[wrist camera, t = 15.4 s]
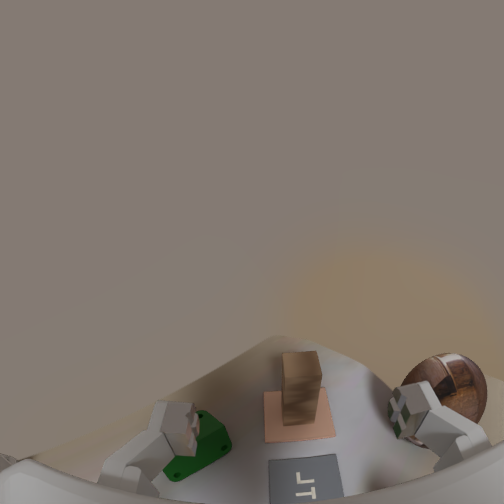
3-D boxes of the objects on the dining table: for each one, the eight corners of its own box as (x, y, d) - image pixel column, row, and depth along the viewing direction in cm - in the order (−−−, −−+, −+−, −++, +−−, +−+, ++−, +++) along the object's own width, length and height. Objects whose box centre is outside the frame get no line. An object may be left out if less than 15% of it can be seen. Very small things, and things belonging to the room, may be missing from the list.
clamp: (209, 449, 42) (212, 406, 42) (229, 467, 37) (234, 422, 38) (143, 462, 34) (140, 415, 35) (158, 485, 30) (156, 437, 30)
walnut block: (283, 426, 41) (285, 377, 37) (281, 403, 46) (282, 353, 41) (314, 423, 41) (322, 374, 37) (310, 401, 46) (316, 350, 41)
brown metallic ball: (432, 387, 44) (458, 323, 38) (477, 437, 30) (519, 375, 25) (369, 416, 41) (390, 351, 36) (411, 481, 28) (456, 426, 22)
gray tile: (270, 518, 26) (270, 517, 26) (268, 460, 36) (268, 460, 35) (346, 509, 26) (346, 509, 26) (335, 454, 35) (336, 453, 35)
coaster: (265, 442, 39) (264, 441, 39) (263, 393, 49) (263, 391, 49) (335, 436, 39) (335, 435, 38) (324, 388, 49) (324, 387, 49)
